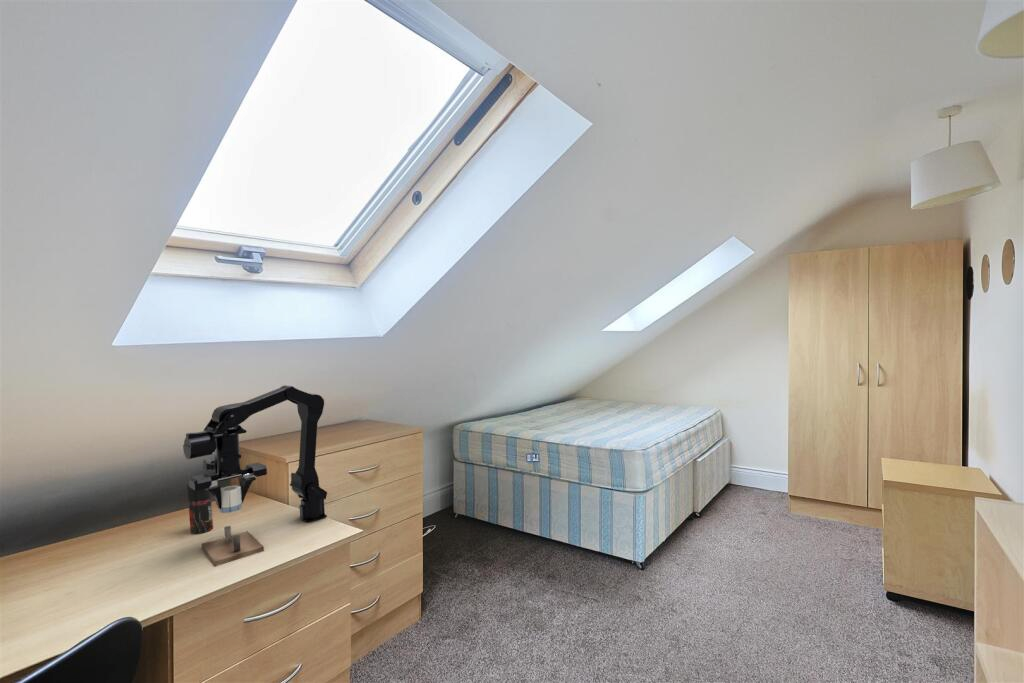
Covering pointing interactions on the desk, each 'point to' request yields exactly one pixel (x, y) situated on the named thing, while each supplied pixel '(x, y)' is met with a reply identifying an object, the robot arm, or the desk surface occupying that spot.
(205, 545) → the pin board
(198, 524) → the deodorant
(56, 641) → the desk surface
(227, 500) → the sleeve
